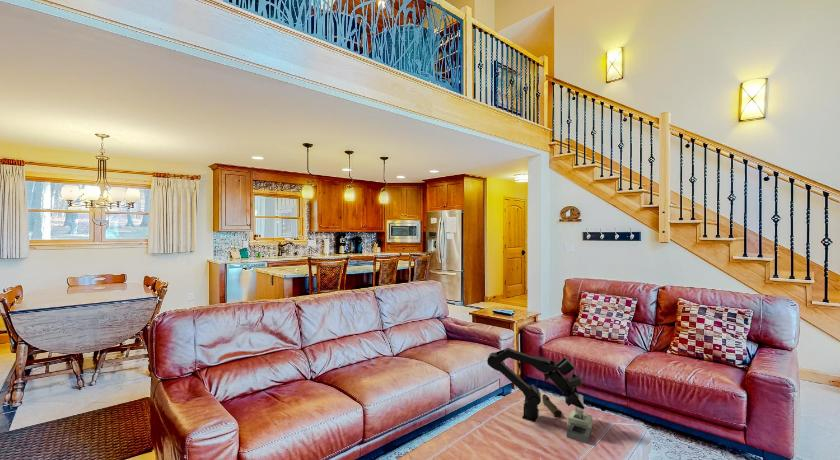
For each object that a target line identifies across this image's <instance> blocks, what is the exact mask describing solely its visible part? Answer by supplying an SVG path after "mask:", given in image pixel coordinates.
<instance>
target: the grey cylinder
mask: <svg viewBox="0 0 840 460" xmlns="http://www.w3.org/2000/svg"><path fill="white" fill-rule="evenodd" d="M578 395H579V398H578V399H579V400H580V402H581V403H582V404H583V405H584V395H582V394H580V393H578ZM574 406H575V405H574ZM584 409H585V408H584ZM584 409H581V408H579V407H577V406H575V409H574V410H575V411H576V418H577V419H581V420H584V414H585V413H584V412H585V410H584Z"/></svg>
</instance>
